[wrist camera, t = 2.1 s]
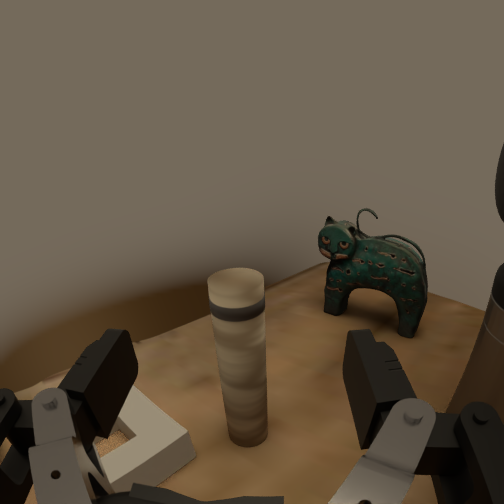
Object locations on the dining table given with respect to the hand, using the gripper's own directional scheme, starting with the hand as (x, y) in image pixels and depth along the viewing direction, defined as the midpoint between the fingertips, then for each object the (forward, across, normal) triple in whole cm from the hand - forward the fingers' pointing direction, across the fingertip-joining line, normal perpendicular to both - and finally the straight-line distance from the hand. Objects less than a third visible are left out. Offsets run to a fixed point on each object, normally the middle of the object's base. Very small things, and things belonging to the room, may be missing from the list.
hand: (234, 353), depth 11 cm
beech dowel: (+14, +2, +24) cm, 28 cm away
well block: (+8, +17, +24) cm, 30 cm away
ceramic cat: (+38, -19, +24) cm, 49 cm away
